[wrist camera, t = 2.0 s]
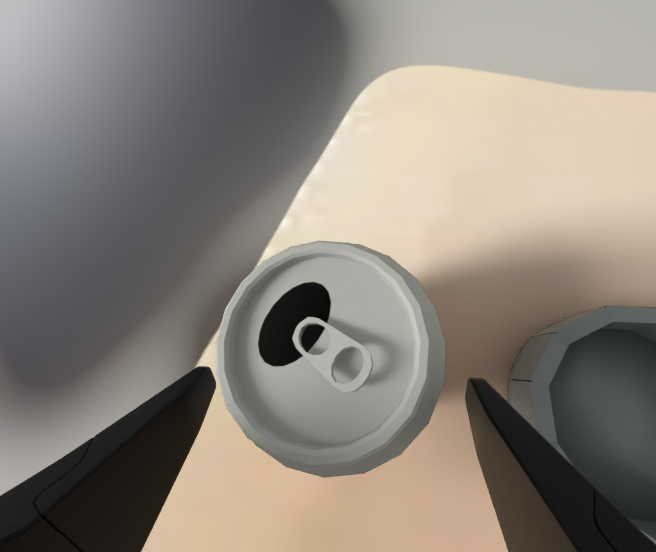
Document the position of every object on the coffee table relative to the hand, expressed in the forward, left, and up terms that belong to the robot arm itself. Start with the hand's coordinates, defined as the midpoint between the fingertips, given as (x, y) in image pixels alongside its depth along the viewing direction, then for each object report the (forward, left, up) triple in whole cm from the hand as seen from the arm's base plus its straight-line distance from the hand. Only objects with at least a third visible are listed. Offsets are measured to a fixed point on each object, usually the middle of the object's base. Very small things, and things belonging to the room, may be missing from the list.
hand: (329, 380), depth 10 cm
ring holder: (-8, -12, -9) cm, 17 cm away
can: (+1, -1, -10) cm, 10 cm away
